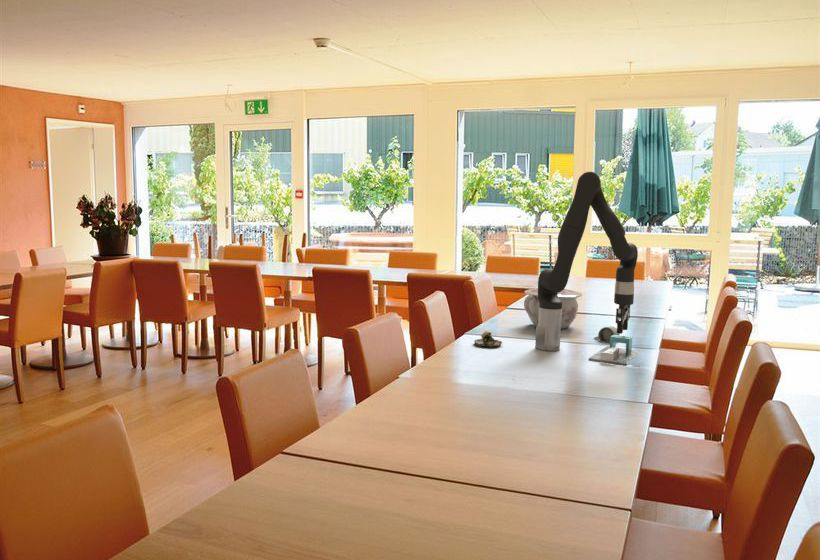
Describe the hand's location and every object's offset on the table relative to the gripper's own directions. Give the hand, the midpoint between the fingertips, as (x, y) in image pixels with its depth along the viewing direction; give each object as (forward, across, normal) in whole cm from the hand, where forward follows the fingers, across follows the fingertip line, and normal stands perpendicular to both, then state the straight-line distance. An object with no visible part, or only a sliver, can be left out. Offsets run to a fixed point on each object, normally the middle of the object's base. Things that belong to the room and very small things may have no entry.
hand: (622, 331), depth 284 cm
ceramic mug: (+10, +18, +11) cm, 23 cm away
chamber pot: (+9, +38, +42) cm, 58 cm away
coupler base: (+9, -8, 0) cm, 12 cm away
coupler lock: (+8, -1, 0) cm, 8 cm away
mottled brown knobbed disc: (+9, -19, +51) cm, 55 cm away
